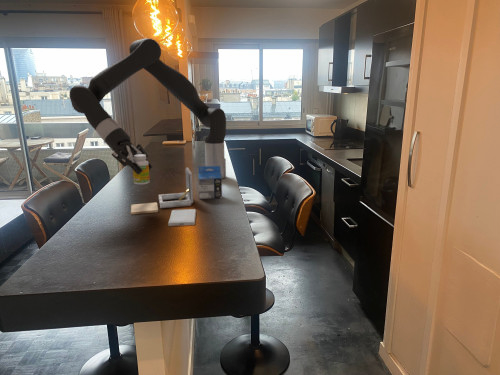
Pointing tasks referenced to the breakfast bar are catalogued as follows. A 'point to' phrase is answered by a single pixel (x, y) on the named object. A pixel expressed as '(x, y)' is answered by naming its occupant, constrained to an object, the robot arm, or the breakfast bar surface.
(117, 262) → the breakfast bar surface
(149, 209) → the cork pad
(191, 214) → the hard drive
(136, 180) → the supplement bottle
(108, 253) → the breakfast bar surface
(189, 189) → the open hinged lid box
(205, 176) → the blue and grey carton
